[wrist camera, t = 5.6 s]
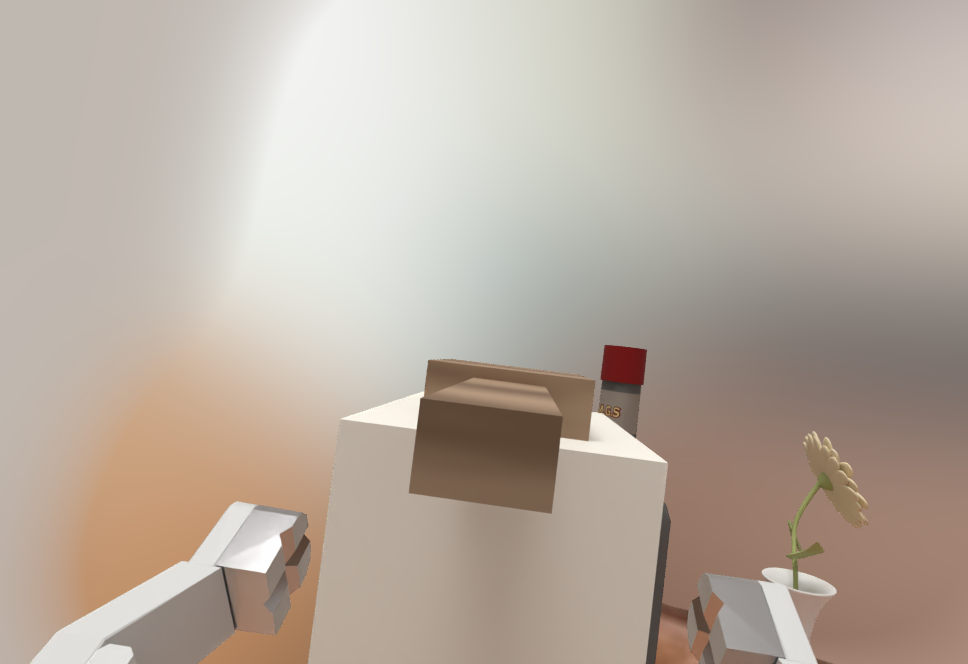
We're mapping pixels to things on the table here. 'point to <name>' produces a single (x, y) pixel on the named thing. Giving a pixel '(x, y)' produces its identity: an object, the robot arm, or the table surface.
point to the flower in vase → (801, 586)
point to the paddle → (496, 432)
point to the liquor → (622, 408)
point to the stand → (486, 556)
